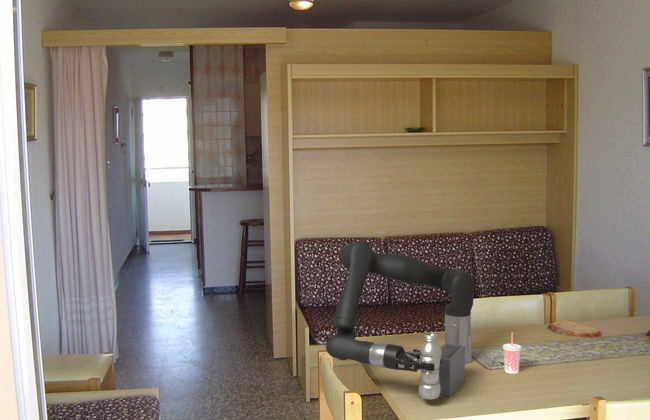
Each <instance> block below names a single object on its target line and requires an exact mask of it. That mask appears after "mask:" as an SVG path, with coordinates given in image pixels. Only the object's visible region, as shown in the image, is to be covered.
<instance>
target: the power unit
mask: <svg viewBox="0 0 650 420" xmlns="http://www.w3.org/2000/svg"><path fill="white" fill-rule="evenodd" d="M440 348H441V351H442V353H441V358H442V364H441V365H440V367H439V381H440V388H441V392H440V395H439V397H447V398H451V397H452V396H453V395H454V393H455V392H456V391H457V390H458V389H459V388H460V387H461V386H462V385H463V383H465V382H466V363H465V346H462V345H454V344H447V343H445V342H444V343H443V344H442V345H440Z"/></svg>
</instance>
